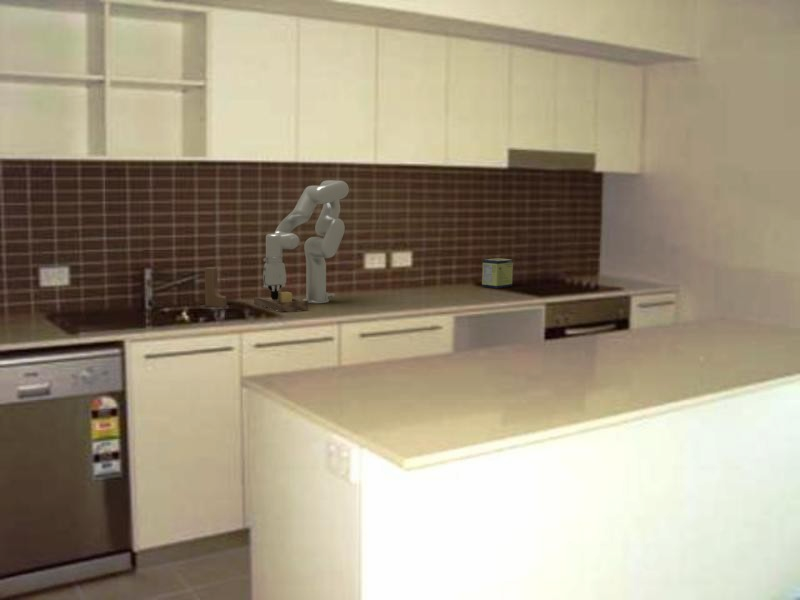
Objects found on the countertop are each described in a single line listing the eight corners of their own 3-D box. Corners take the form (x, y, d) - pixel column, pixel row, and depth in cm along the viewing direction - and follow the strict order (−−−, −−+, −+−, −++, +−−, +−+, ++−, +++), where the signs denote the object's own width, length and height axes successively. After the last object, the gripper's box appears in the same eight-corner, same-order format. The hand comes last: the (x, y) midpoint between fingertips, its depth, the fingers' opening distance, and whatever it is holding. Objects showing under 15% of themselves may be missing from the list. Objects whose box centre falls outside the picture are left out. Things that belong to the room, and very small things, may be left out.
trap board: (280, 301, 427) (280, 292, 426) (308, 310, 402) (308, 300, 402) (254, 303, 420) (254, 294, 419) (280, 312, 395) (280, 302, 394)
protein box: (512, 286, 501) (513, 259, 499) (496, 288, 490) (497, 260, 487) (497, 284, 508) (498, 257, 506) (481, 286, 497) (482, 259, 494)
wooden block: (226, 306, 411) (226, 267, 409) (223, 307, 407) (223, 268, 404) (208, 305, 412) (208, 267, 410) (205, 306, 408) (204, 268, 406)
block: (287, 300, 417) (287, 291, 416) (291, 301, 412) (291, 293, 412) (277, 300, 414) (277, 292, 414) (281, 302, 410) (281, 293, 409)
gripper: (262, 261, 402) (263, 301, 404) (292, 260, 410) (292, 299, 412) (255, 260, 408) (256, 299, 411) (285, 258, 416) (285, 297, 419)
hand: (274, 299), depth 412 cm, fingers closed
